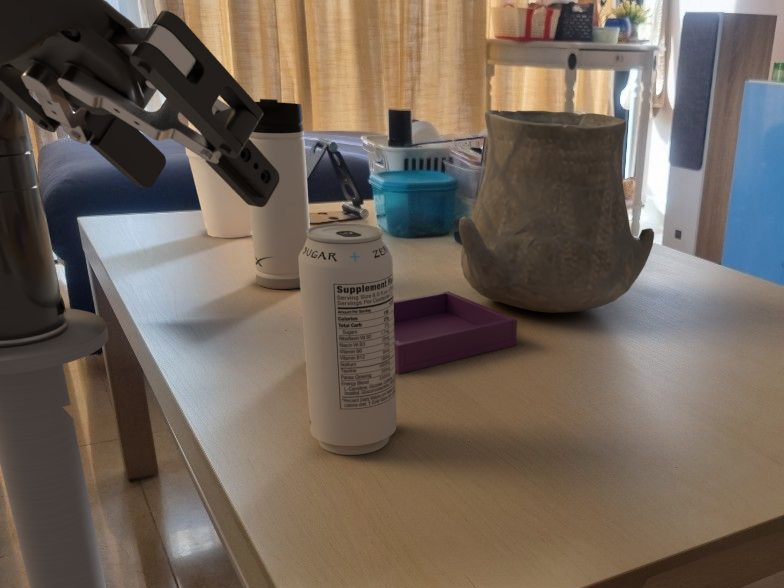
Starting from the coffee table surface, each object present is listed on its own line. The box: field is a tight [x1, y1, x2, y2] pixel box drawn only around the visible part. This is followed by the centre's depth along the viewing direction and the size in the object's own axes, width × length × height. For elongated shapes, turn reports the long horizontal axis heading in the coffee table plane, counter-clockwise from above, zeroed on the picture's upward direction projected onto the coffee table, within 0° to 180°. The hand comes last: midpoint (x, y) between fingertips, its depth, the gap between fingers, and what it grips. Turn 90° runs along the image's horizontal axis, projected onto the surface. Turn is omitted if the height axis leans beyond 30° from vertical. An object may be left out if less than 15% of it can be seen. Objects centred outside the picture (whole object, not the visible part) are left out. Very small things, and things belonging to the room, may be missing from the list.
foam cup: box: [184, 132, 252, 239], centre depth 114 cm, size 10×9×13 cm
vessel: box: [458, 109, 655, 314], centre depth 90 cm, size 22×22×20 cm
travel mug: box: [249, 98, 311, 290], centre depth 92 cm, size 6×7×20 cm
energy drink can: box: [298, 223, 398, 456], centre depth 57 cm, size 6×6×15 cm
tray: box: [394, 290, 518, 375], centre depth 79 cm, size 13×11×3 cm
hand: (208, 183), depth 45 cm, fingers open, 8 cm apart
